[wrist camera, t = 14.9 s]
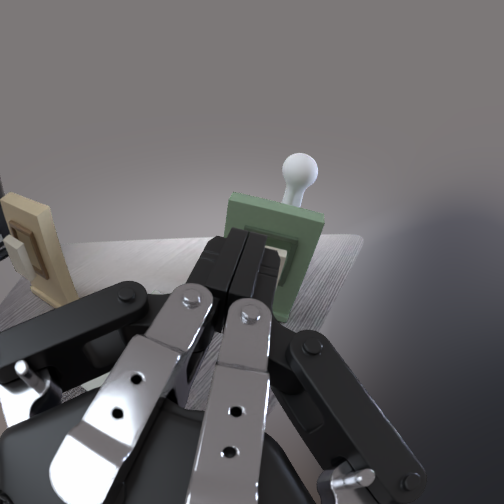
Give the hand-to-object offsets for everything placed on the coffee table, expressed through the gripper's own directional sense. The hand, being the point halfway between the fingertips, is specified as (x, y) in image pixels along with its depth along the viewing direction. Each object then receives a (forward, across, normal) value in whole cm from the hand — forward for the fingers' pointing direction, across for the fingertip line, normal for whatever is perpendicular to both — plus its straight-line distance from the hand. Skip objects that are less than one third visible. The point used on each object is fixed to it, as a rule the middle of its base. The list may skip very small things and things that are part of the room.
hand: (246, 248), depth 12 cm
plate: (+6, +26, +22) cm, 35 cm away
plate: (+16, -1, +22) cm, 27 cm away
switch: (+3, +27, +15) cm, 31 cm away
